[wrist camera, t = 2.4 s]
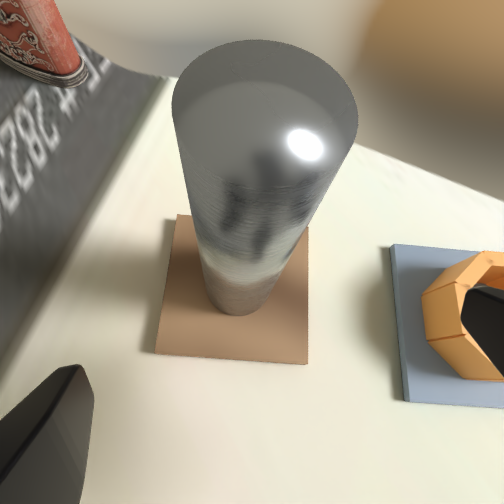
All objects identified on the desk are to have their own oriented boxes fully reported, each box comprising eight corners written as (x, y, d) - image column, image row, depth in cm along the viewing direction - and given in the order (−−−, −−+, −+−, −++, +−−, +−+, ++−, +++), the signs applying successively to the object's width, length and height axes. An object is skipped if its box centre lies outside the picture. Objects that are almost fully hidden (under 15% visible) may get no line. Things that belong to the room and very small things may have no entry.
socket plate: (560, 411, 18) (637, 419, 15) (404, 400, 18) (446, 406, 14) (523, 259, 21) (578, 238, 18) (389, 247, 21) (421, 222, 18)
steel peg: (268, 318, 18) (363, 196, 6) (202, 313, 18) (156, 174, 6) (271, 257, 19) (353, 50, 7) (209, 251, 19) (185, 29, 7)
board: (304, 364, 18) (308, 364, 17) (157, 354, 17) (154, 352, 17) (305, 232, 21) (308, 226, 20) (178, 220, 20) (177, 214, 20)
